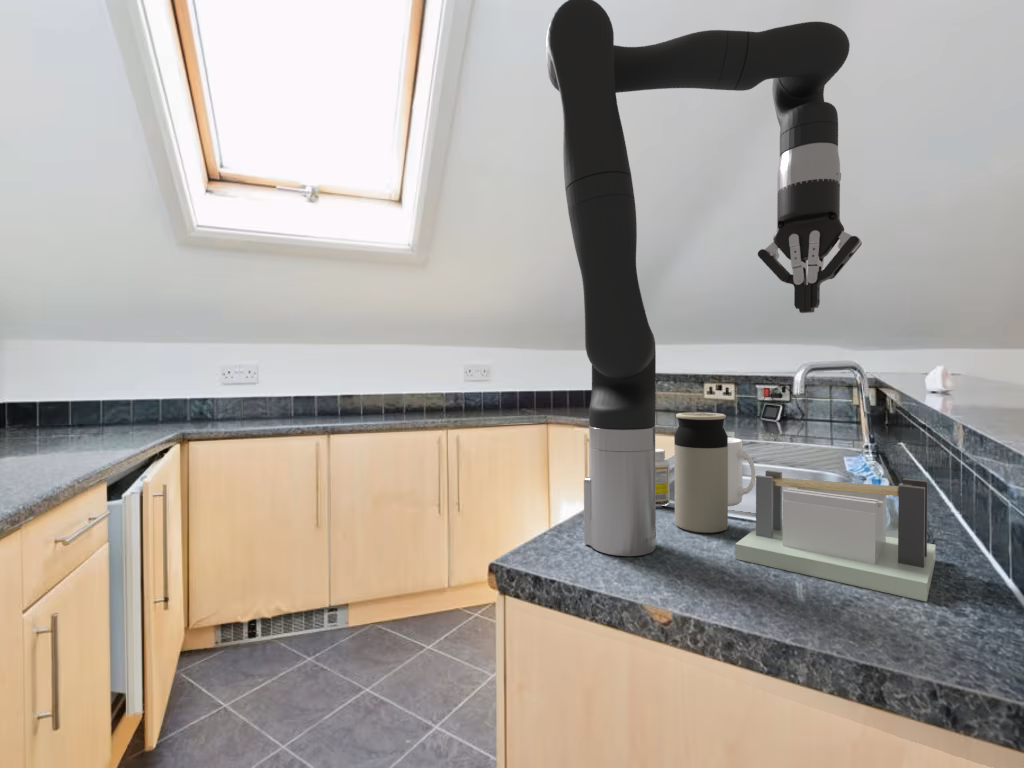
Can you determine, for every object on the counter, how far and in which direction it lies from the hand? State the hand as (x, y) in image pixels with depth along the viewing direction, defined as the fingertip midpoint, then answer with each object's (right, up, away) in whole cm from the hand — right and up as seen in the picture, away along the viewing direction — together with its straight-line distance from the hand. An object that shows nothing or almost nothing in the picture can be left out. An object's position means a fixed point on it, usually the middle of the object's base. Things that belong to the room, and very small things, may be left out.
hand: (807, 312), depth 73 cm
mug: (-1, -32, +26) cm, 42 cm away
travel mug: (-11, -33, +11) cm, 36 cm away
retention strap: (+1, -24, -4) cm, 24 cm away
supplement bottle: (-15, -33, +25) cm, 44 cm away
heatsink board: (+1, -33, -4) cm, 33 cm away
